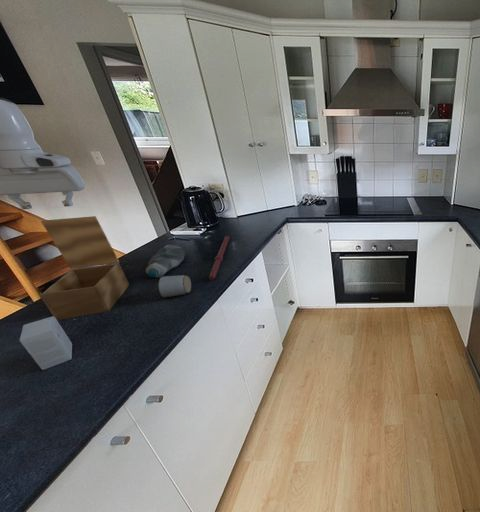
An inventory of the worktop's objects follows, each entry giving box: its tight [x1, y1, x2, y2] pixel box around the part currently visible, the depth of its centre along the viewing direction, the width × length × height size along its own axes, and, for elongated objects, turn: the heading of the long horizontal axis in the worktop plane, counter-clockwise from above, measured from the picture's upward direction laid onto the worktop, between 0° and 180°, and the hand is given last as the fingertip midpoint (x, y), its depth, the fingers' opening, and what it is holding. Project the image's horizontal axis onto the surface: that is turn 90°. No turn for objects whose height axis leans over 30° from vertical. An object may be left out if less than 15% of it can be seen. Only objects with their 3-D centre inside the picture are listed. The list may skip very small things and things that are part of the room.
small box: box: [18, 315, 73, 371], centre depth 72 cm, size 8×6×10 cm
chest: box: [39, 262, 130, 321], centre depth 96 cm, size 18×14×10 cm
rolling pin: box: [208, 235, 231, 281], centre depth 129 cm, size 45×3×3 cm, turn 20°
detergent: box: [144, 243, 187, 279], centre depth 118 cm, size 13×7×25 cm
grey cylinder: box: [158, 274, 192, 298], centre depth 102 cm, size 11×8×8 cm
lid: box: [40, 215, 120, 270], centre depth 98 cm, size 18×14×5 cm
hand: (48, 207), depth 83 cm, fingers open, 8 cm apart
